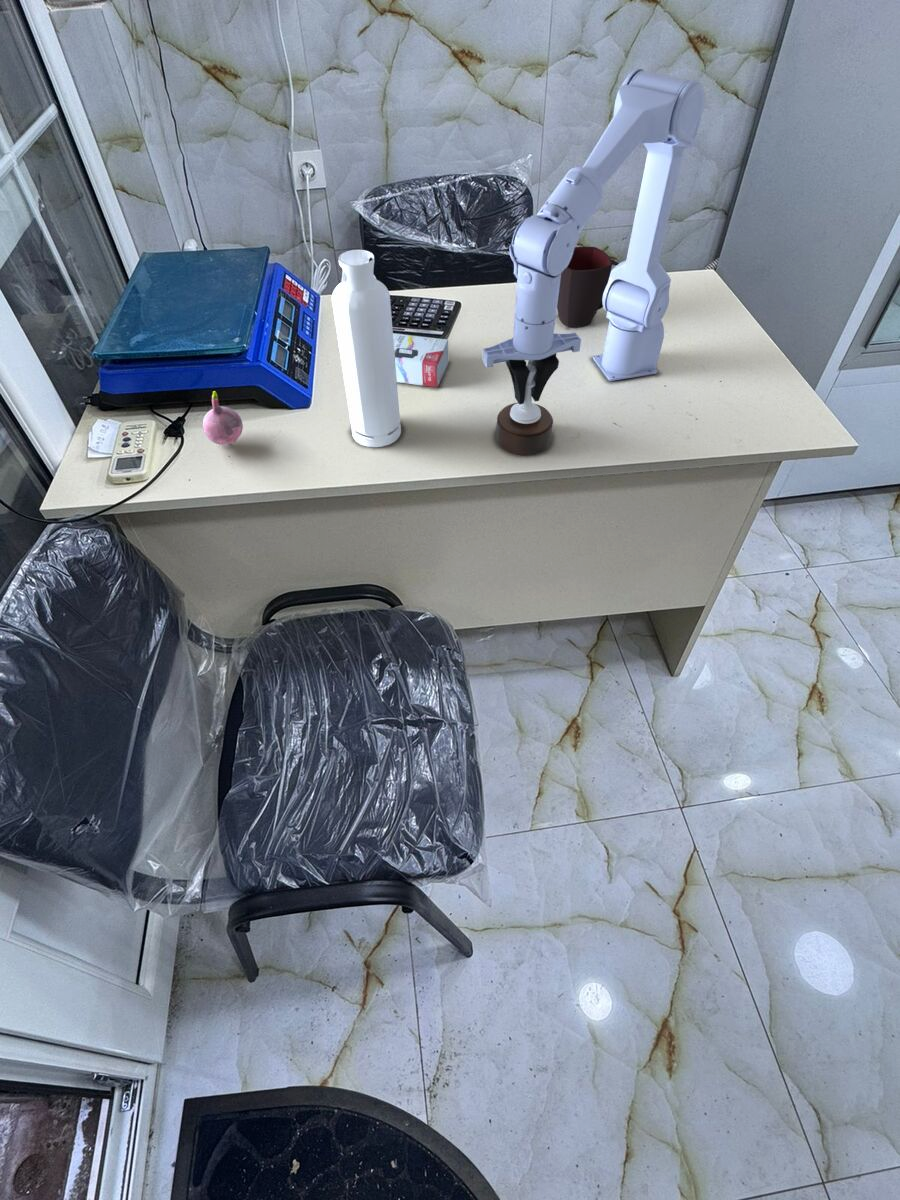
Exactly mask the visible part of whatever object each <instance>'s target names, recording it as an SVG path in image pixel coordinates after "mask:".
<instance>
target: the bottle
mask: <svg viewBox="0 0 900 1200" xmlns="http://www.w3.org/2000/svg"><path fill="white" fill-rule="evenodd" d="M337 258H338V265H339V266H340V268H341V269H342V271H341V282H339V283H338V284H337V285H336V287H335V288H334V290H333V291H332V295H331V304H332V308H333V309H332V310H333V316H334V324H335V330H336V336H337V341H338V342H337V343H338V349H339V356H340V362H341V367H342V368H341V369H342V375H343V382H344V387H345V394H346V400H347V401H346V402H347V407H348V413H349V420H350V424H351V425H350V426H351V433H352V437H353V439H354V440H355V442H356V443H358V444H359V445H361V446H365V447H368V448H382V447H386V446H389V445H392V444H393V443H394V442H396V441H397V440H398V439H399V438H400V437H401V433H402V429H401V428H402V426H401V414H400V401H399V391H398V382H397V377H396V365H395V353H394V340H393V333H394V329H393V319H392V305H391V295H390V291H389V289H388V288H387V286H386V285H385V284H384V283H383V282H382V281H380V280H379V279H377V277H376V275H375V274H374V268H375V255H374V254H373V252H371V251H369V250H366V249H350V250H346V251H344V252H342V253H341V254H339V256H338V257H337ZM370 259H371V260H370Z"/></svg>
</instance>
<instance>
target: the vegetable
mask: <svg viewBox="0 0 900 1200" xmlns="http://www.w3.org/2000/svg"><path fill="white" fill-rule="evenodd" d="M211 404H212V409H210V410H208V411H207V413H205V415H204V417H203V420H202V428H203V431H204V434H205V435H206V437H207V438H208V440H209V441H211V442H212V443H213V444H216V445H219V446H232V445H233V444H235V443H236V442H237V441H238V440H239V439H240V437H241V435H242V433H243V428H244V424H243V419H242V418H241V416H240V414H239V413H238V412H236V411H235V410H234V409H233V408H231V407H227V406H220V402H219V396H218V393H217V392H216V390H214V391H212V395H211Z"/></svg>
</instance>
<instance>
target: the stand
mask: <svg viewBox="0 0 900 1200" xmlns="http://www.w3.org/2000/svg"><path fill="white" fill-rule="evenodd" d="M516 403H517V402H513V403H511V404H508V405H506V406H505V407H503V408H502V409H501V410H500V411H499V412H498V414H497V417H496V428H495V440H496V443H497V445H498V446H499V447H500V448H501V449H502V450H504V451H505V452H508V453H510V454H511V455H515V456H533V455H537V454H540V453H542V452H544V451H545V450H546V449H548V448H549V446H550V444H551V440H552V434H553V427H554V418H553V416H552V414H551V413H550V411H549V410H548V409H547V408H546V407H544V406H542V405H540V404H538V403H535V404H536V405H537V406H538V407H539V408H540V410H541V417H540V419H539V420H538V421H536V422H534V423H530V424H522V423H518V422H516V421H514V420H513V419H512V418H511V416H510V411H511V408H512V406H513V405H515V404H516Z"/></svg>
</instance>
